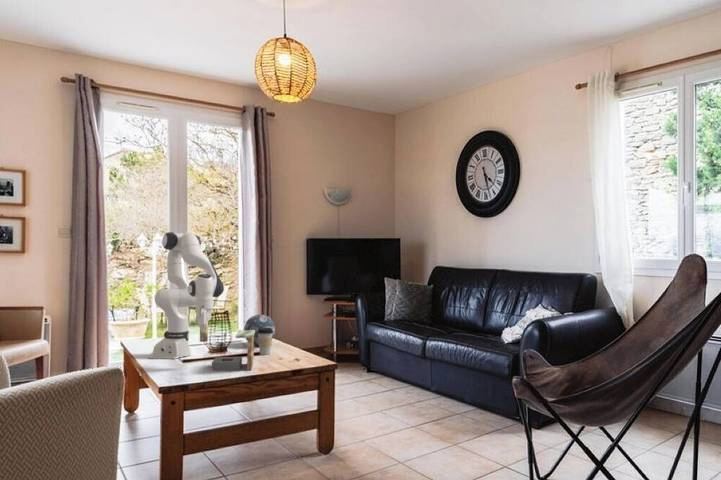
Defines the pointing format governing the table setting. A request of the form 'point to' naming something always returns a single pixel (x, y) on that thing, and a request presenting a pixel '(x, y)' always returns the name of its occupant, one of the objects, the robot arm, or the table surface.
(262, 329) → the coffee cup
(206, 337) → the beech peg
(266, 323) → the decorative ball
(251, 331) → the awning
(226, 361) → the socket
